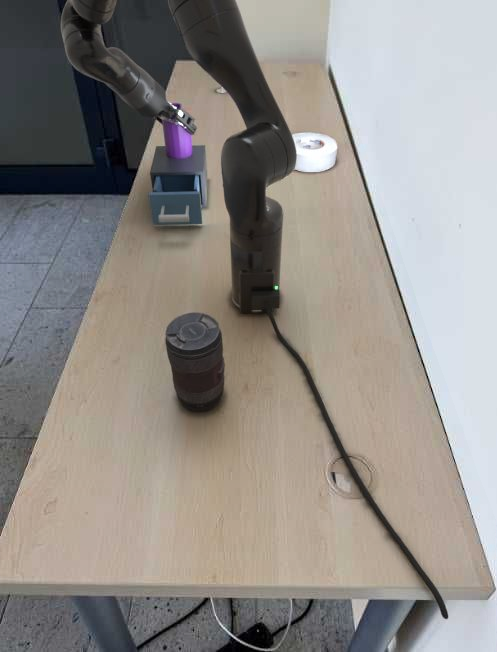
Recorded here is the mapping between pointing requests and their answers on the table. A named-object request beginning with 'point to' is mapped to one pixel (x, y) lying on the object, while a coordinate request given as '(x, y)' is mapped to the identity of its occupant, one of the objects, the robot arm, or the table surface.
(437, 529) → the table surface
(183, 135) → the bottle
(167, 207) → the drawer
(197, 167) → the grey cabinet
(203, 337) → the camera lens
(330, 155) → the tape roll
